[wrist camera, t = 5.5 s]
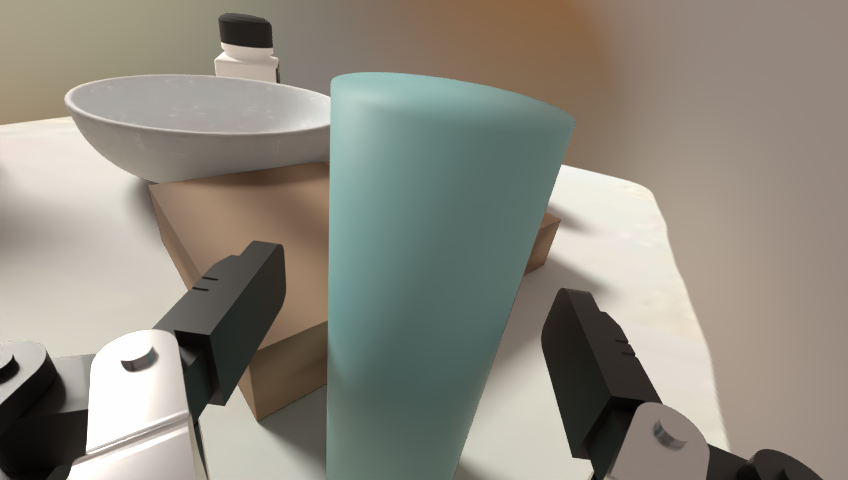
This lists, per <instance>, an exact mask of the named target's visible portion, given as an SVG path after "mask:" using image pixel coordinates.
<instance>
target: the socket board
mask: <svg viewBox="0 0 848 480" xmlns="http://www.w3.org/2000/svg"><path fill="white" fill-rule="evenodd" d="M148 187H149V191H150V195H151V199H152V203H153V207H154V211H155V215H156V219H157V222H158V226H159V230H160V234H161V238H162V241H163V243H164V245H165V247H166V249H167V251H168V253H169V255H170V256H171V258H172V260H173V262H174V264H175V266H176V268H177V270H178V272H179V274H180V276H181V277H182V279H183V281H184V283H185V285H186V287H187V289H188V291H189V290H192V287H193V285H194V284H195V283H196V282H197V281H198V280H199V279H202V276H203V275H204V274H205V273H206V272H207V271H208V270H209V269H210V268H211V267H212V266H213V265H214V264H215V263H217V262H219V261H221V260H223V259H224V258H226V257H228V256H230V255H237V256H239V255H240V254H241V253H242V252H243V251H244V250H245V249H246V247H247V246H248V245H249V244H250V243H251V242H252V241H254V240H257V241H263V242H270V243H276V244H282V245H283V248H284V255H285V272H286V296H285V300H284V303H283V306H282V308H281V310H280V312H279V313H278V315H277V317H276V318H275V320H274V322H273V324H272V325H271V327H270V329H269V330H268V332H267V334H266V336H265V337H264V339H263V341H262V343H261V344H260V346H259V348H258V349H257V351H256V353H255V355H254V356H253V358H252V360H251V362H250V363H249V365H248V367H247V368H246V370H245V372H244V374H243V375H242V377H241V379H240V380H239V382H238V386H239V388H240V390H241V392H242V394H243V396H244V398H245V399H246V401H247V403H248V405H249V407H250V409H251V411H252V413H253V415H254V417H255V419H256V420H257V421H259V420H261V419H263V418H265V417H266V416H268V415H270V414H272V413H274V412H276V411H277V410H279V409H281V408H283V407H285V406H286V405H288V404H290V403H292V402H294V401H296V400H297V399H299V398H301V397H303V396H305V395H307V394H308V393H310V392H312V391H314V390H316V389H318V388H319V387H321V386H323V385H325V384H327V360H328V276H329V192H330V161H322V162H315V163H307V164H300V165H293V166H285V167H278V168H271V169H263V170H256V171H249V172H241V173H234V174H226V175H219V176H212V177H204V178H197V179H190V180H182V181H175V182H168V183H160V184H153V185H148ZM560 221H561V219H559V218H557V217H555V216H553V215H551V214H549V213H547V212H545V213H544V216H543V219H542V222H541V225H540V228H539V230H538V233H537V236H536V239H535V242H534V245H533V248H532V251H531V254H530V257H529V259H528V262H527V265H526V268H525V271H524V274H523V276H524V275H526V274H528V273H529V272H531V271H533V270H535V269H537V268H539V267H540V266H542V265H544V263H545V261H546V258H547V255H548V253H549V250H550V247H551V245H552V242H553V239H554V237H555V234H556V231H557V229H558V226H559V223H560Z"/></svg>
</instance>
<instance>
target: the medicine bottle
mask: <svg viewBox="0 0 848 480" xmlns="http://www.w3.org/2000/svg"><path fill="white" fill-rule="evenodd" d="M218 20H219V28H220V36H221V44H222V49H224V50H225V52H223V53H222V54H221V55H220V56H218V57H217V58H216V59H215V61H214V62H215V70H216V76H219V77H232V78H242V79H251V80H259V81H266V82H272V83H278V84H280V75H279V74H280V73H279V60H278V58H276V57H271V54H273V43H272V27H271V24H270V23H269V22H268V21H266V20H265V19H263V18H260V17H256V16H251V15H244V14H235V13H234V14H233V13H226V14H223V15H221V16H220V17H219V19H218Z"/></svg>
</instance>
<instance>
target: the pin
mask: <svg viewBox="0 0 848 480" xmlns="http://www.w3.org/2000/svg"><path fill="white" fill-rule="evenodd" d="M575 123H576V122H575V120H574V118H573V117H572V116H571V115H569V114H568V113H566V112H565V111H563V110H561V109H559V108H557V107H555V106H552V105H550V104H547V103H545V102H543V101H540V100H537V99H534V98H531V97H527V96H524V95H520V94H517V93H513V92H510V91H506V90H502V89H498V88H493V87H489V86H484V85H480V84H475V83H469V82H464V81H458V80H452V79H445V78H439V77H431V76H422V75H414V74H401V73H384V72H381V73H380V72H363V73H351V74H345V75H341V76H338V77H335V78H334V79H333V80H332V81H331V108H330V192H329V276H328V360H327V445H326V480H452V479H453V476H454V473H455V470H456V468H457V465H458V462H459V459H460V456H461V453H462V450H463V447H464V444H465V442H466V439H467V436H468V433H469V430H470V427H471V424H472V421H473V418H474V416H475V413H476V410H477V407H478V404H479V401H480V398H481V395H482V392H483V390H484V387H485V384H486V381H487V378H488V375H489V372H490V369H491V366H492V363H493V361H494V358H495V355H496V352H497V349H498V346H499V343H500V340H501V337H502V335H503V332H504V329H505V326H506V323H507V320H508V317H509V314H510V311H511V309H512V306H513V303H514V300H515V297H516V294H517V291H518V288H519V285H520V283H521V280H522V277H523V274H524V271H525V268H526V265H527V262H528V259H529V257H530V254H531V251H532V248H533V245H534V242H535V239H536V236H537V233H538V230H539V228H540V225H541V222H542V219H543V216H544V213H545V210H546V207H547V204H548V202H549V199H550V196H551V193H552V190H553V187H554V184H555V181H556V178H557V176H558V173H559V170H560V167H561V164H562V161H563V158H564V155H565V152H566V149H567V147H568V144H569V141H570V138H571V135H572V132H573V129H574V126H575Z"/></svg>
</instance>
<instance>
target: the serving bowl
mask: <svg viewBox="0 0 848 480" xmlns="http://www.w3.org/2000/svg"><path fill="white" fill-rule="evenodd" d="M64 101H65V104H66V107H67V109H68V111H69V112H70V114H71V116H72V118H73V120H74V122H75V123H76V125H77V127H78V129H79V130H80V131H81V133H82V134H83V136H84V137H85V139H86V140H87V141H88V142H89V143H90V144H91V145H92V146H93V147H94V148H95V149H96V150H97V151H98V152H99V153H100V154H101V155H102V156H104V157H105V158H106V159H108V160H109V161H110V162H112V163H113V164H115V165H116V166H118V167H120V168H121V169H123V170H125V171H127V172H129V173H131V174H133V175H136V176H138V177H141V178H143V179H146V180H149V181H152V182H156V183H159V184H160V183H168V182H175V181H182V180H190V179H197V178H204V177H212V176H219V175H226V174H234V173H241V172H249V171H256V170H263V169H271V168H278V167H285V166H293V165H300V164H307V163H315V162H322V161H329V160H330V108H331V97H328V96H326V95H323V94H320V93H317V92H313V91H310V90H306V89H301V88H297V87H292V86H288V85H283V84H278V83H272V82H266V81H259V80H251V79H242V78H232V77H219V76H202V75H140V76H127V77H118V78H110V79H103V80H98V81H94V82H89V83H86V84H82V85H80V86H77V87H75V88H73V89H71V90H70V91H69V92H68V93H67V94H66V96H65V99H64Z"/></svg>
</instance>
